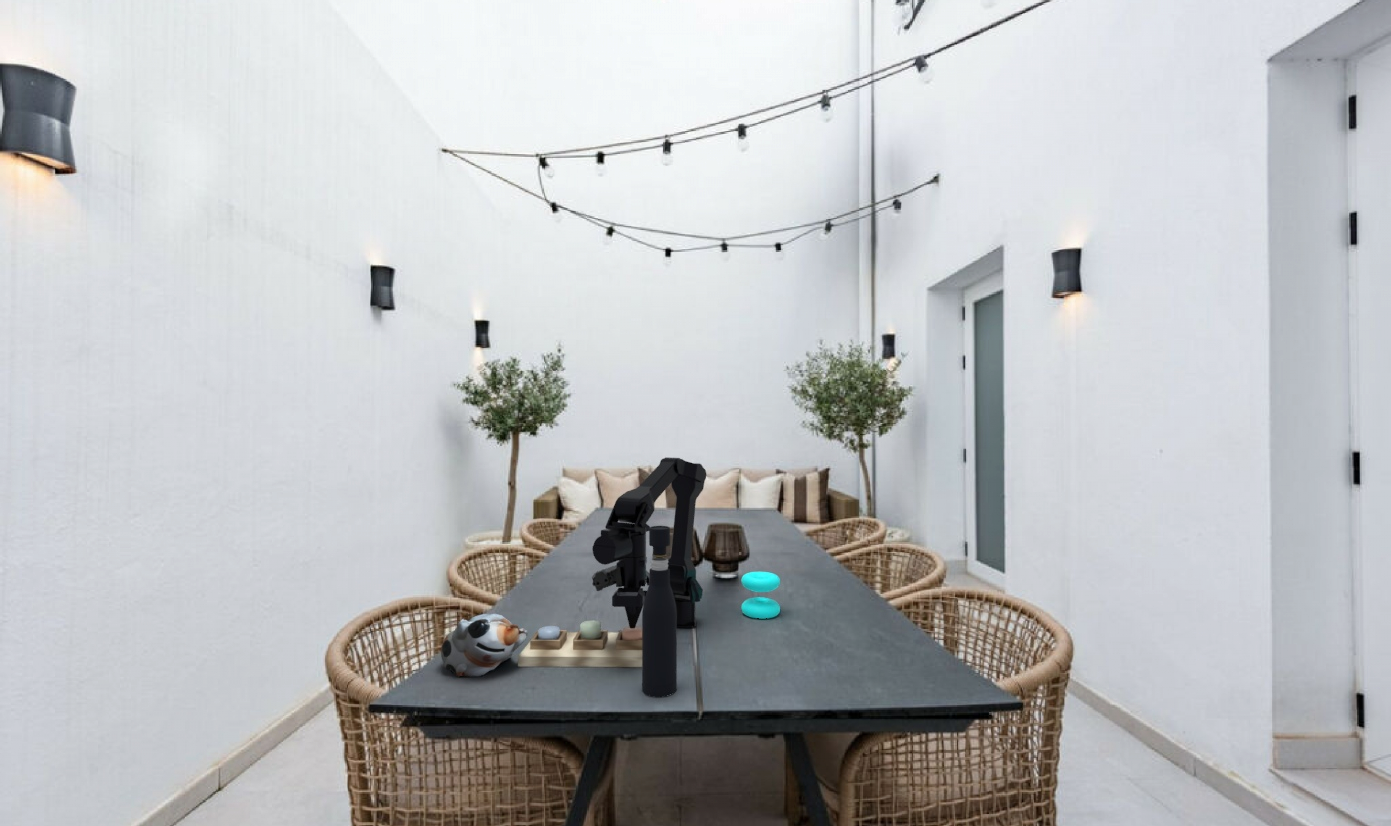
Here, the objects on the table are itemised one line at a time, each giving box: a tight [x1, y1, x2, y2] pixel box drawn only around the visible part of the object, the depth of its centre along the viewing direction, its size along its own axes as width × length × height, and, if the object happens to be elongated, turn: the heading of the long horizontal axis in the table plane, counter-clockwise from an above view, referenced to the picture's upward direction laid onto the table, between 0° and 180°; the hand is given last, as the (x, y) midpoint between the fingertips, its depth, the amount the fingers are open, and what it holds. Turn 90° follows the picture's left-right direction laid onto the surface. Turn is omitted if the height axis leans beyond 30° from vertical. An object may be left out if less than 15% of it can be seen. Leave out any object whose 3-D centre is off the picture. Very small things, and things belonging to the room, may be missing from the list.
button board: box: [517, 629, 642, 668], centre depth 128 cm, size 27×14×4 cm, turn 89°
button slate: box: [537, 625, 561, 640], centre depth 128 cm, size 4×4×2 cm
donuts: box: [740, 571, 781, 620], centre depth 155 cm, size 10×10×10 cm
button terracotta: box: [621, 626, 642, 640], centre depth 128 cm, size 4×4×2 cm
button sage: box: [579, 619, 602, 639], centre depth 128 cm, size 4×4×2 cm
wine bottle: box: [641, 525, 678, 698], centre depth 111 cm, size 6×6×30 cm
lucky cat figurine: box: [440, 613, 528, 677], centre depth 121 cm, size 15×12×14 cm
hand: (632, 627), depth 128 cm, fingers closed
